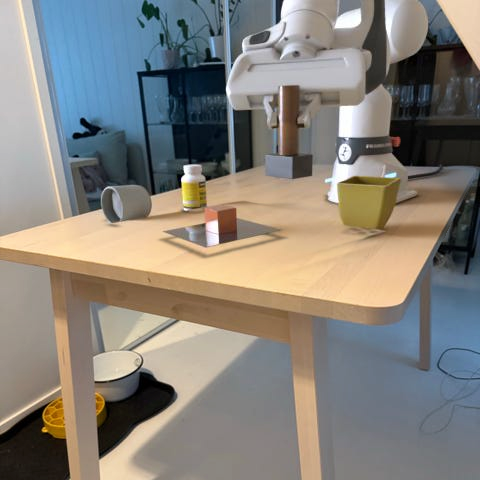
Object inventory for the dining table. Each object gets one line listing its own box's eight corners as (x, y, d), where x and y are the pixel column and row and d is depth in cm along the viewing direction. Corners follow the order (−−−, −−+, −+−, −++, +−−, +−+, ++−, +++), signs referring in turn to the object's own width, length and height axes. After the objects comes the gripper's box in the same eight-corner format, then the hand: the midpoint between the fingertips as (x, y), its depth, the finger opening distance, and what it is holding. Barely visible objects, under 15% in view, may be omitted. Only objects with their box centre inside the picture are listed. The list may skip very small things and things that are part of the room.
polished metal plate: (234, 224, 91) (234, 217, 91) (281, 238, 81) (281, 229, 80) (163, 239, 83) (162, 231, 82) (205, 256, 73) (204, 247, 72)
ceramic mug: (156, 219, 97) (152, 182, 94) (125, 227, 92) (119, 188, 88) (125, 215, 104) (120, 179, 100) (94, 222, 98) (88, 185, 95)
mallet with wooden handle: (284, 172, 72) (284, 86, 67) (312, 175, 67) (314, 84, 62) (265, 175, 70) (263, 87, 64) (292, 179, 65) (293, 84, 60)
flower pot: (382, 239, 78) (387, 185, 74) (333, 234, 82) (335, 182, 78) (396, 228, 85) (401, 177, 81) (350, 223, 89) (353, 175, 85)
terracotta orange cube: (224, 226, 84) (223, 204, 82) (237, 230, 81) (236, 207, 79) (205, 230, 82) (204, 207, 80) (218, 234, 79) (217, 211, 77)
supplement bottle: (203, 212, 103) (200, 166, 99) (180, 212, 104) (176, 167, 100) (209, 207, 107) (207, 163, 103) (187, 207, 109) (184, 164, 104)
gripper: (372, 65, 69) (362, 140, 65) (243, 73, 75) (226, 142, 71) (373, 26, 63) (362, 106, 59) (233, 38, 69) (214, 111, 65)
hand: (287, 126), depth 65 cm, fingers closed on mallet with wooden handle, 3 cm apart
